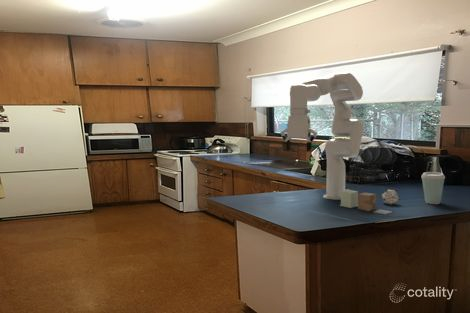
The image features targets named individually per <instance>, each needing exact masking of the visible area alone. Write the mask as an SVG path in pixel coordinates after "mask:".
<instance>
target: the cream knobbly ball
mask: <svg viewBox="0 0 470 313" xmlns="http://www.w3.org/2000/svg"><path fill="white" fill-rule="evenodd" d="M397 191H398V189H395V190H394V189H390V188H389V187H387V189H386V190H385V191H384V192H383V193H380V194H379V195H380V196H381V198H382V199H383V200H382V201H383V204H387V205H392V206H393V205H394V204H395V203H396V202H398V201H401V199H400V197H399V194H398V193H397Z"/></svg>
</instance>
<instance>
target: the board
mask: <svg viewBox="0 0 470 313" xmlns="http://www.w3.org/2000/svg"><path fill="white" fill-rule="evenodd" d="M339 206H340V207H342V206H341V204H340V205H339ZM343 207H345V208H347V207H346V206H343ZM356 207H357V208H358V206H355V207H348V208H349V209H352V208H356ZM372 212H373V213H375V214H379V215H384V216H385V215H389V214H392V213H394V212H393V211H391V210H386V209H377V210H372Z"/></svg>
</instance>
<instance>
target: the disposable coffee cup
mask: <svg viewBox="0 0 470 313" xmlns="http://www.w3.org/2000/svg"><path fill="white" fill-rule="evenodd" d="M445 179H446V176H445V175H444V173H442V172H438V171H426V172H423V173H422V174H421V181H422V189H423V194H424V201H425V204H428V203H429V204H430V205H439V204H440V203H441V200H442V194H443V190H444V183H445Z"/></svg>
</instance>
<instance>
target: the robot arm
mask: <svg viewBox="0 0 470 313" xmlns="http://www.w3.org/2000/svg"><path fill="white" fill-rule="evenodd" d="M363 90H364V89H363V87H362V85H361V84H360V82H359V81H358V79H357V78H356V77H355V76H354V75H353V73H351V72H349V71H346V72H344V71H343V72H342V71H341V72H333V73H330V74H327V75H326V74H325V75H324V76H322V77H319V78H314V79H312V80H308V81H304V82H300V83H298V84H292V85H291V86H290V90H289V102H290V103H289V107H290V108H289V109H290V110H289V111H290V112H289V113H290V114H289V115H288V119H287V125H286V127H287V128H285V129H284V130H283V129H282V130H281V131H280V135H281V137H282V139H283V140H284V142H285V149H286V151H291V148H292V145H291V144H292V143H291V140H292V139H305V140H306V141H307V142H306V151H307V152H311V151H312V149H313V148H312V144H313V143H312V142H314V140H315V139H316V137H317V135H318V131H316V130H314V129H313V128H312V126H311V119H310V115H308V114H310V113H311V109H308V102H315V101H317V100H319V99H320V98H321V96H326V95H328V94H329V96H330V99H331V102H332V104H333V106H334V115H333V121H332V125H331V134H332V136H334V137H337V138H331V139H328V140H326V142H325V145H324V150H325V151H324V152H325V155H326V184H325V185H326V186H325V187H326V188H325V189H326V194H324V195H323V197H322V198H324V199H327V200H335V201H337V200H340V201H341V191H344V190H349V189H346V163H345V161H344V159H343V158H348V159H352V158H353V159H354V158H356V157H358V156H359V153H360V149H361V145H362V139H363V133H364V126H363V122H362V121H361V120H360V119H357V118H351V116H352V109H351V107H350V106H349V104H348V103H347V102H357V101H360V100H361V99H362V97H363V94H364V91H363Z"/></svg>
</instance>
